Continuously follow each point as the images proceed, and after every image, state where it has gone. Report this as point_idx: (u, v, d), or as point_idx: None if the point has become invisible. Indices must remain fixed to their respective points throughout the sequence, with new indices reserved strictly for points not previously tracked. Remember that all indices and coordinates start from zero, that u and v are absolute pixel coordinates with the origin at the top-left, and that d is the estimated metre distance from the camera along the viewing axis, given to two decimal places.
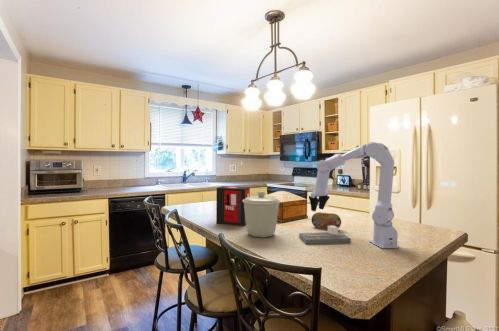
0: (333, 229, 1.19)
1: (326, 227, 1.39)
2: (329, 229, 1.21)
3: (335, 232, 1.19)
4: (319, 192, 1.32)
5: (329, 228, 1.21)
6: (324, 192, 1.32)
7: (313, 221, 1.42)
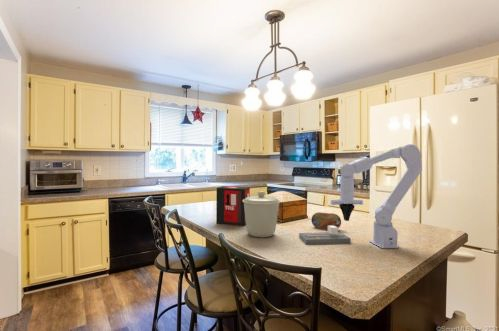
0: (333, 229, 1.19)
1: (326, 227, 1.39)
2: (329, 229, 1.21)
3: (335, 232, 1.19)
4: (342, 199, 1.20)
5: (329, 228, 1.21)
6: (348, 199, 1.18)
7: (313, 221, 1.42)
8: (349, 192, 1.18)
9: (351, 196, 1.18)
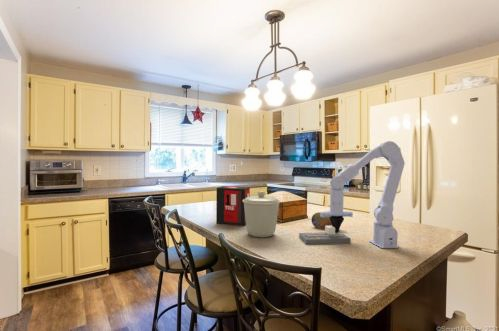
0: (330, 229, 1.19)
1: None
2: (326, 229, 1.20)
3: (332, 232, 1.19)
4: (331, 211, 1.19)
5: (326, 228, 1.20)
6: (337, 211, 1.18)
7: (313, 221, 1.42)
8: (338, 204, 1.18)
9: (340, 208, 1.18)
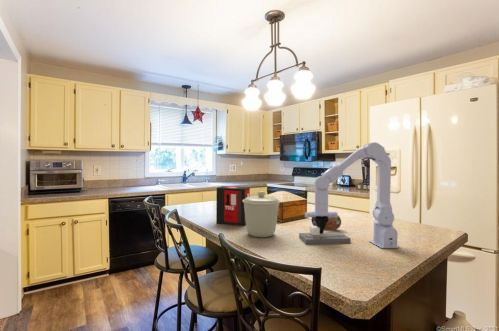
0: (315, 229, 1.18)
1: (326, 227, 1.39)
2: (311, 229, 1.20)
3: (317, 232, 1.18)
4: (316, 212, 1.18)
5: (311, 228, 1.20)
6: (322, 212, 1.17)
7: (313, 221, 1.42)
8: (323, 205, 1.17)
9: (325, 209, 1.17)
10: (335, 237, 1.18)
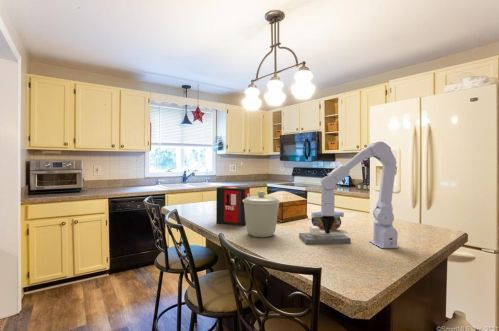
0: (315, 229, 1.18)
1: None
2: (311, 229, 1.20)
3: (317, 232, 1.18)
4: (322, 212, 1.19)
5: (311, 228, 1.20)
6: (328, 212, 1.17)
7: (313, 221, 1.42)
8: (329, 205, 1.17)
9: (331, 209, 1.18)
10: (335, 237, 1.18)
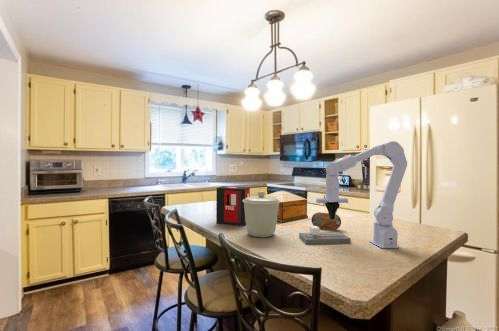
0: (315, 229, 1.18)
1: (326, 227, 1.39)
2: (311, 229, 1.20)
3: (317, 232, 1.18)
4: (327, 198, 1.20)
5: (311, 228, 1.20)
6: (333, 197, 1.19)
7: (313, 221, 1.42)
8: (334, 190, 1.19)
9: (336, 194, 1.19)
10: (335, 237, 1.18)
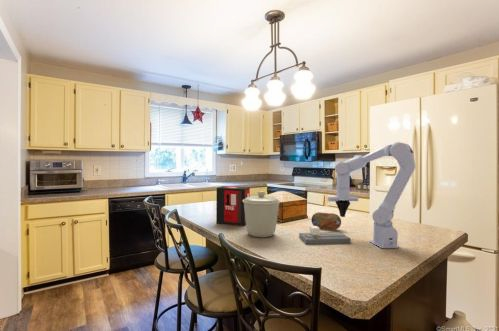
0: (315, 229, 1.18)
1: (326, 227, 1.39)
2: (311, 229, 1.20)
3: (317, 232, 1.18)
4: (338, 196, 1.25)
5: (311, 228, 1.20)
6: (344, 196, 1.23)
7: (313, 221, 1.42)
8: (345, 189, 1.23)
9: (347, 193, 1.23)
10: (335, 237, 1.18)
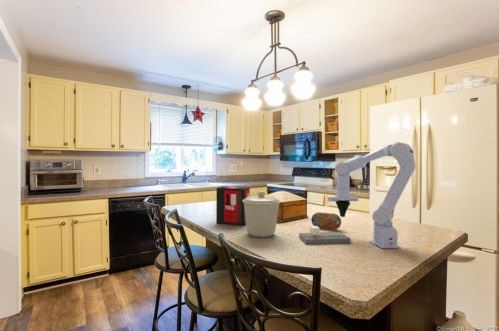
0: (315, 229, 1.18)
1: (326, 227, 1.39)
2: (311, 229, 1.20)
3: (317, 232, 1.18)
4: (338, 196, 1.25)
5: (311, 228, 1.20)
6: (344, 196, 1.23)
7: (313, 221, 1.42)
8: (345, 189, 1.23)
9: (347, 193, 1.23)
10: (335, 237, 1.18)
